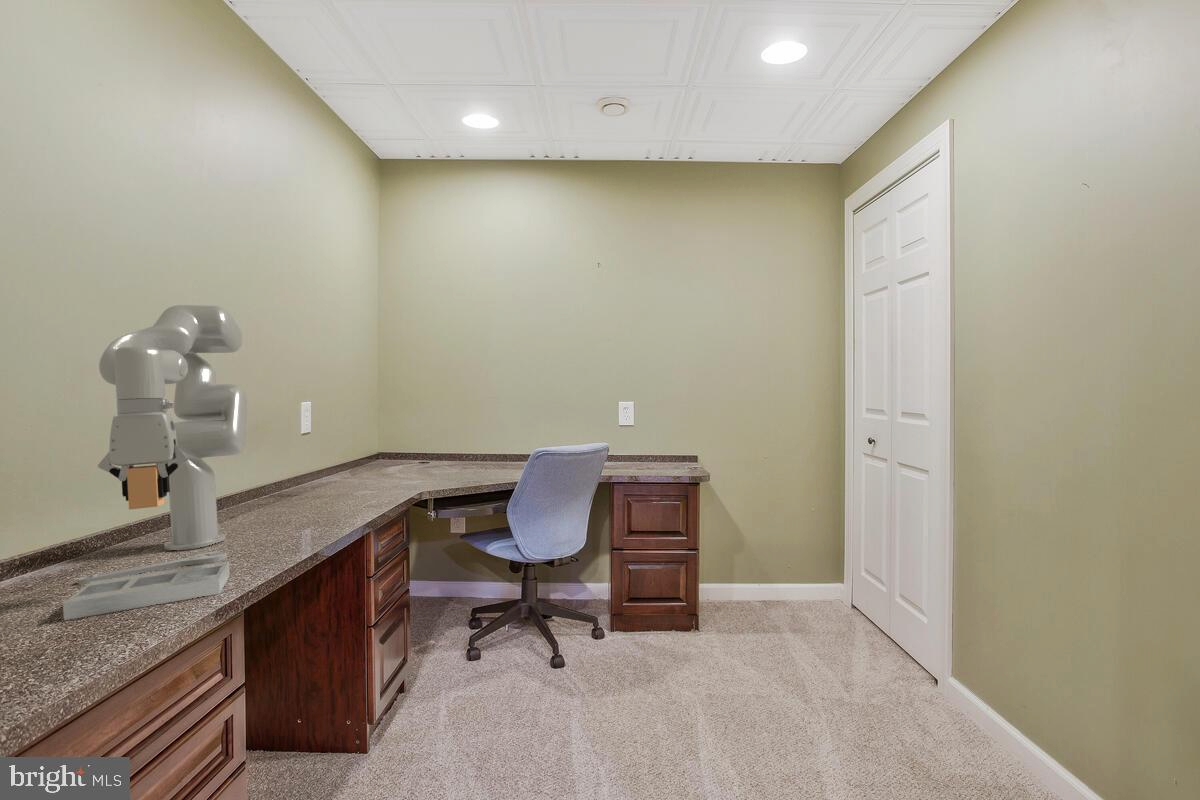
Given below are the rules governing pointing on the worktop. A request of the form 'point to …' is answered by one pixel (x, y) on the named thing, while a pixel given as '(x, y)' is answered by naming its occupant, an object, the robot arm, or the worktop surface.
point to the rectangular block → (143, 487)
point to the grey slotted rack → (157, 566)
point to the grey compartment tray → (146, 590)
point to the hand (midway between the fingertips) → (146, 497)
